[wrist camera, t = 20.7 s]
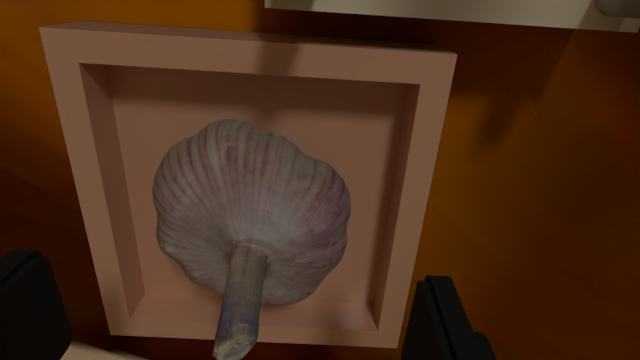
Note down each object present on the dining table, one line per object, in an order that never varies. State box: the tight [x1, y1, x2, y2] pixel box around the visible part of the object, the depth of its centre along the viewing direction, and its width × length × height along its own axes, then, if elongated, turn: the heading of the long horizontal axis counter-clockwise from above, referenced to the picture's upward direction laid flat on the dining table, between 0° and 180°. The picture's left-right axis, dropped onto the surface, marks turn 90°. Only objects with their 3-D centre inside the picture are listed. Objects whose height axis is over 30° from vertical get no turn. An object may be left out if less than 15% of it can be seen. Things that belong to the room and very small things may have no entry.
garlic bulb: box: [152, 119, 351, 360], centre depth 13 cm, size 8×7×8 cm
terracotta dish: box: [39, 21, 457, 348], centre depth 16 cm, size 13×13×2 cm
